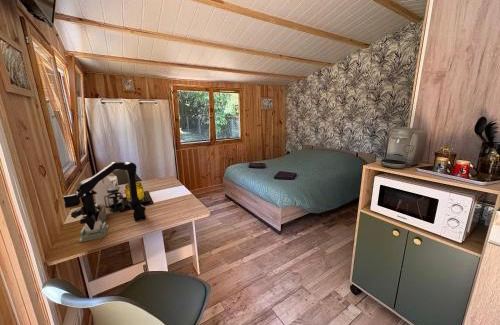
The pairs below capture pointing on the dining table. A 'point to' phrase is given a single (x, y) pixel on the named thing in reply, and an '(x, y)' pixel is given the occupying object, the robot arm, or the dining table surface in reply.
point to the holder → (93, 233)
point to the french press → (114, 198)
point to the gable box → (102, 187)
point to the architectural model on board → (102, 213)
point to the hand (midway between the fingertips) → (93, 227)
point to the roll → (96, 227)
